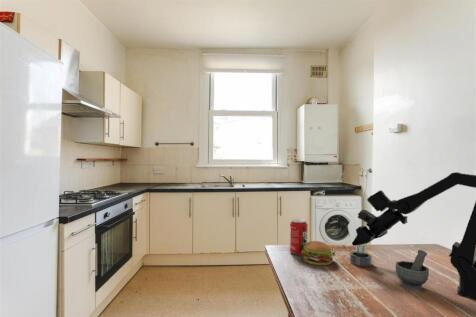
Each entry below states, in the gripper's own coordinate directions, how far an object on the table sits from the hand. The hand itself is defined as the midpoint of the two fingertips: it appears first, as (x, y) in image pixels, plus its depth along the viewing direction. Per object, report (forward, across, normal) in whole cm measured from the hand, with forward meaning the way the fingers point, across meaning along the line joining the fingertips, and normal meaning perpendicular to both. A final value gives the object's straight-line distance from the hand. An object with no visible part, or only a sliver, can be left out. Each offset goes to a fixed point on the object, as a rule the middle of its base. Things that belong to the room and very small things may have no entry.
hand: (357, 242), depth 115 cm
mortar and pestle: (-10, +8, +22) cm, 25 cm away
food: (+14, +12, -2) cm, 18 cm away
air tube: (+5, 0, +7) cm, 8 cm away
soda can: (+22, +10, -10) cm, 26 cm away
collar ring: (+5, 0, +7) cm, 8 cm away
